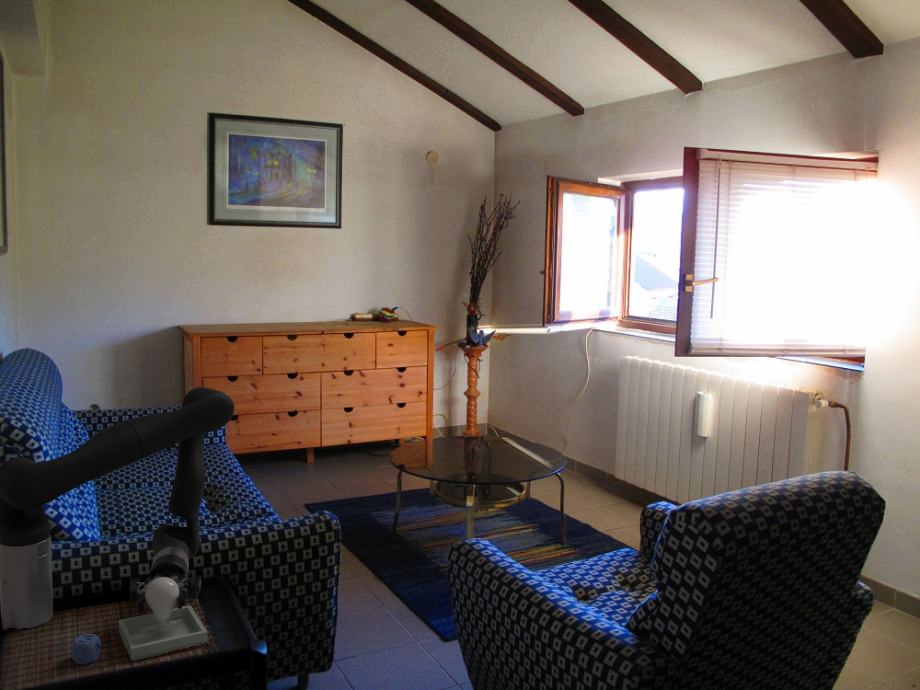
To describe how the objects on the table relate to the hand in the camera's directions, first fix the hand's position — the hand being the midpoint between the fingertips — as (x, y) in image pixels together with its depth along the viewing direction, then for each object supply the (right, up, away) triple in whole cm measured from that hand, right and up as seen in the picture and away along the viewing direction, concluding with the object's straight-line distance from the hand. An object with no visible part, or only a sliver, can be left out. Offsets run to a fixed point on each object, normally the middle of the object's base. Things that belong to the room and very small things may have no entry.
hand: (161, 605), depth 159 cm
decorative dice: (-12, -8, -5) cm, 16 cm away
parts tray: (-1, -7, +3) cm, 8 cm away
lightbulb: (-1, -6, +3) cm, 7 cm away
